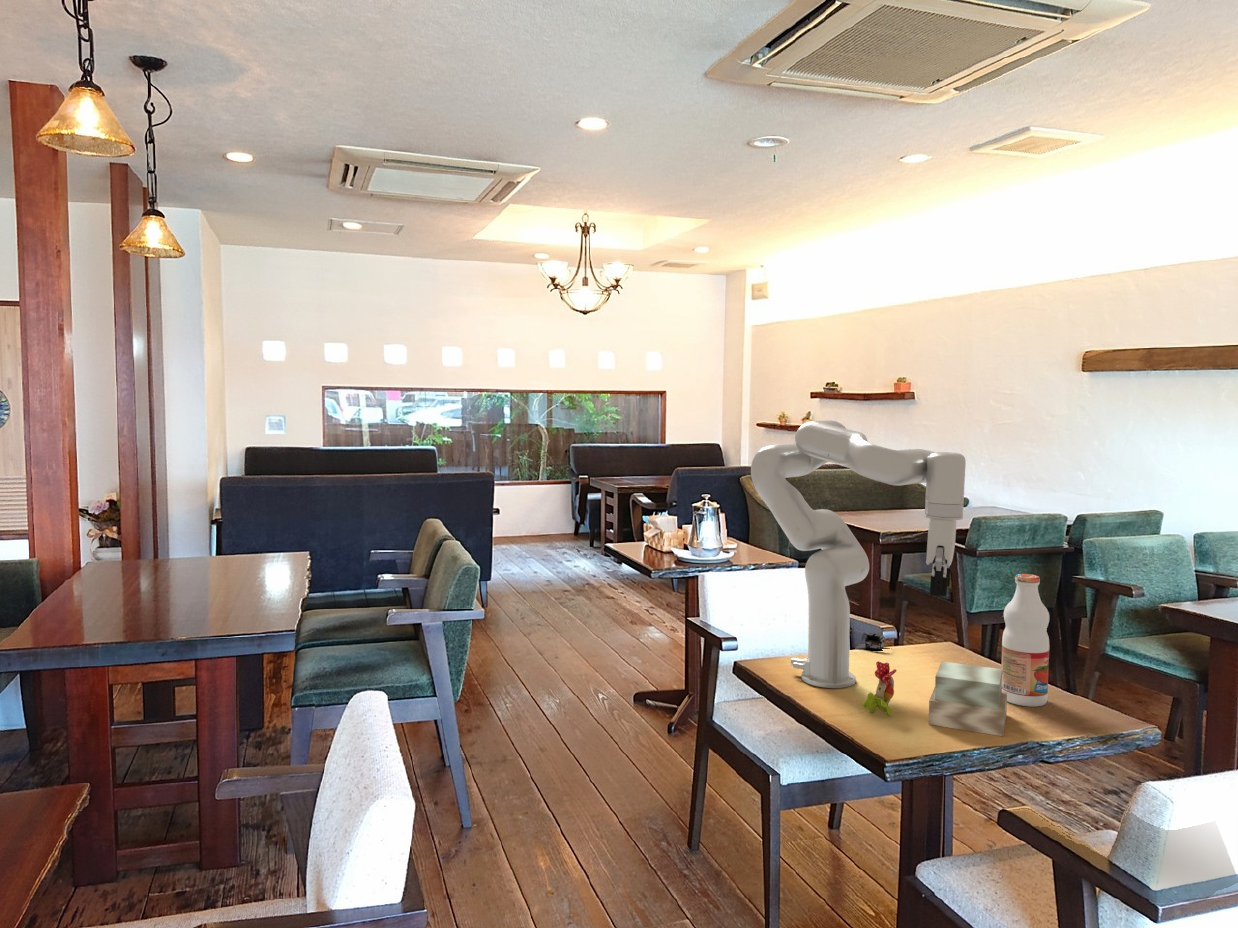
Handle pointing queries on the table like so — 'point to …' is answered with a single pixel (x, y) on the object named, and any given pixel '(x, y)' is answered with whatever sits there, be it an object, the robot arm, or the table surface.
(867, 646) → the dark grey rounded block
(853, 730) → the table surface
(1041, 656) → the fruit juice
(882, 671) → the bird rattle
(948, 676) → the striped stacked block
